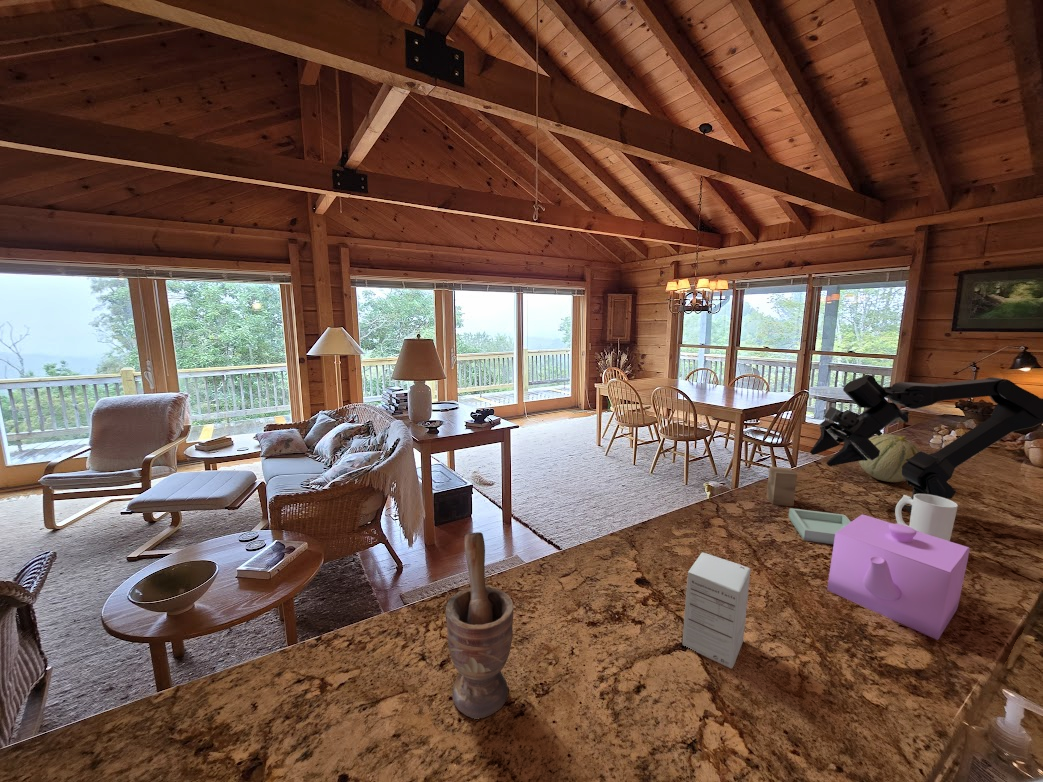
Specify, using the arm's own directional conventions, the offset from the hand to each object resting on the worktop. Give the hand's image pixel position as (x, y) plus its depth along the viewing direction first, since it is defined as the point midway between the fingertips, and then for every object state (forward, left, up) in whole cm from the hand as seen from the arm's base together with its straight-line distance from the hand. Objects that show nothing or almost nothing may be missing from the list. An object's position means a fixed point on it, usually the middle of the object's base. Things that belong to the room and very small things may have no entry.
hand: (819, 458), depth 113 cm
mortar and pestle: (+80, -64, -13) cm, 104 cm away
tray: (+16, -3, -13) cm, 21 cm away
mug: (+18, +14, -13) cm, 27 cm away
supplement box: (+62, -32, -13) cm, 71 cm away
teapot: (+42, -1, -13) cm, 44 cm away
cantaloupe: (-28, +28, -13) cm, 41 cm away
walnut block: (0, -8, -13) cm, 15 cm away
